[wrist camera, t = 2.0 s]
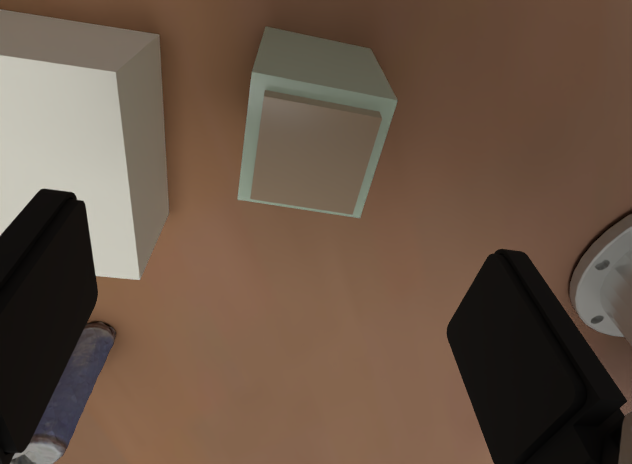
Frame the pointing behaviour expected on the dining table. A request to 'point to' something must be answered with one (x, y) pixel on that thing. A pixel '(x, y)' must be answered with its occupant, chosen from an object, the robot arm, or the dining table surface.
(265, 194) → the open sage green box
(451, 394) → the dining table surface
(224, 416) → the dining table surface
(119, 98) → the cream box
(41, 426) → the flask
